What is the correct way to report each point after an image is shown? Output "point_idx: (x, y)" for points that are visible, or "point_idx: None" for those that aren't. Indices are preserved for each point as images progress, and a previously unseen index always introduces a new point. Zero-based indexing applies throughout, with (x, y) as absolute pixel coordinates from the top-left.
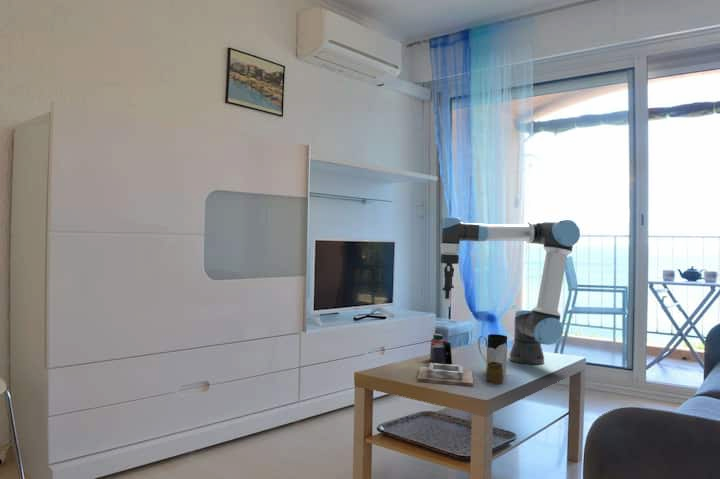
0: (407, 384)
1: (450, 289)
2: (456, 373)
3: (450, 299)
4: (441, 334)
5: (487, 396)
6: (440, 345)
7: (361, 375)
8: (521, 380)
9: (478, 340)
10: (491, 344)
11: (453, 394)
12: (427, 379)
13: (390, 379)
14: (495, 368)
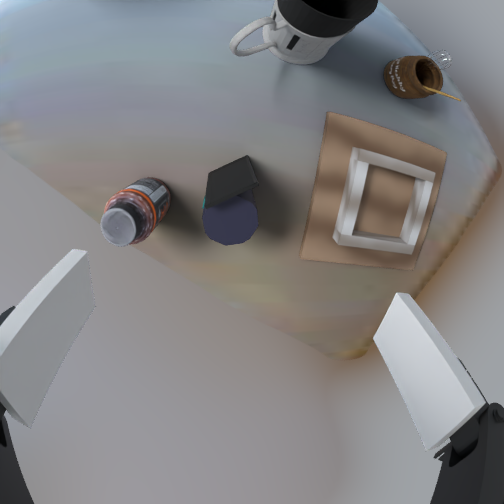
0: (424, 284)
1: (502, 411)
2: (429, 187)
3: (440, 336)
4: (110, 213)
5: (486, 149)
6: (226, 214)
7: (361, 356)
8: None
9: (236, 48)
10: (351, 27)
11: (477, 209)
12: (419, 250)
13: None
14: (435, 82)
